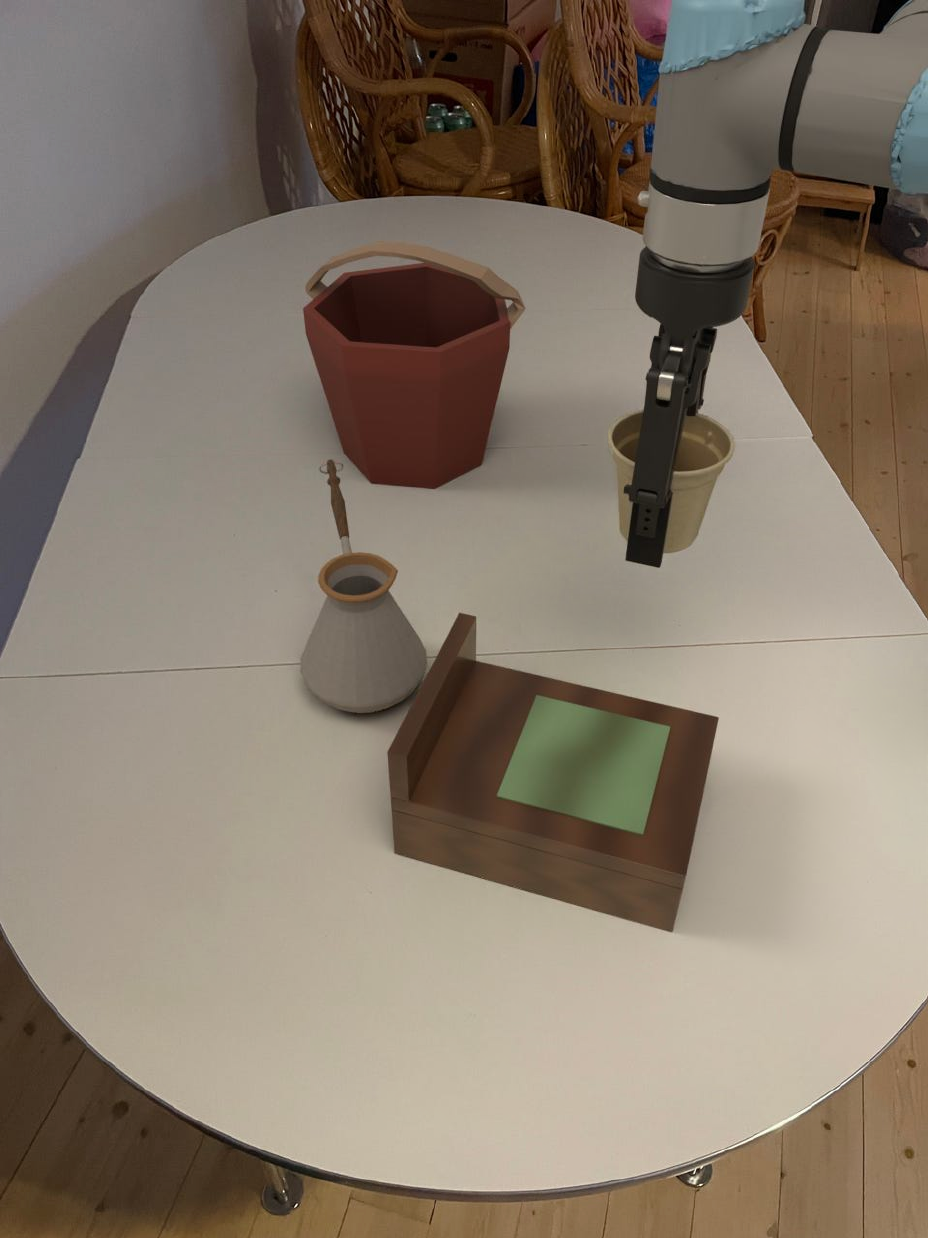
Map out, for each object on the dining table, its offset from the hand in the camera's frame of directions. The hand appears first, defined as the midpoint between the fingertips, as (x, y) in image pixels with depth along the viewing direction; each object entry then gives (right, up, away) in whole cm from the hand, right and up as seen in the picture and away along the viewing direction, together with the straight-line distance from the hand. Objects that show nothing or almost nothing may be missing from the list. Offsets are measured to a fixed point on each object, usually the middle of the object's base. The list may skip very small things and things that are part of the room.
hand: (655, 528), depth 84 cm
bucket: (-21, +13, +42) cm, 49 cm away
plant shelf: (-8, -23, +2) cm, 24 cm away
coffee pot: (-26, -10, +16) cm, 32 cm away
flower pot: (0, 0, 0) cm, 1 cm away
